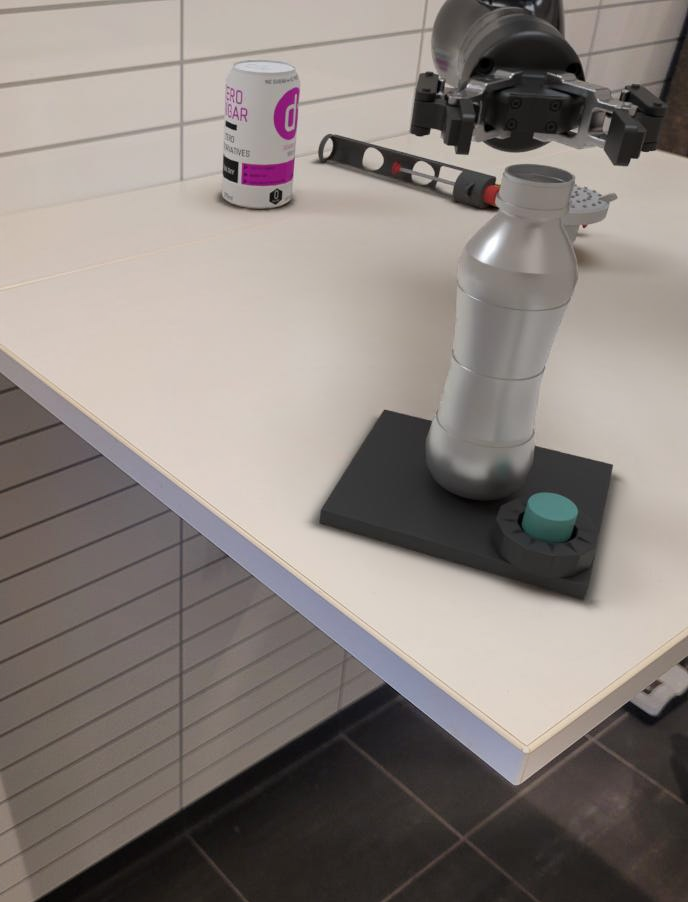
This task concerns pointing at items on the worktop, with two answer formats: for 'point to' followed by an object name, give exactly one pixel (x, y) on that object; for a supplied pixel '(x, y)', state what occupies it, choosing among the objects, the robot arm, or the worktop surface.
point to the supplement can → (260, 133)
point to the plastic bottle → (504, 335)
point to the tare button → (549, 517)
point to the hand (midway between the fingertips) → (546, 142)
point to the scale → (468, 509)
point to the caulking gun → (400, 166)
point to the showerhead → (585, 209)
